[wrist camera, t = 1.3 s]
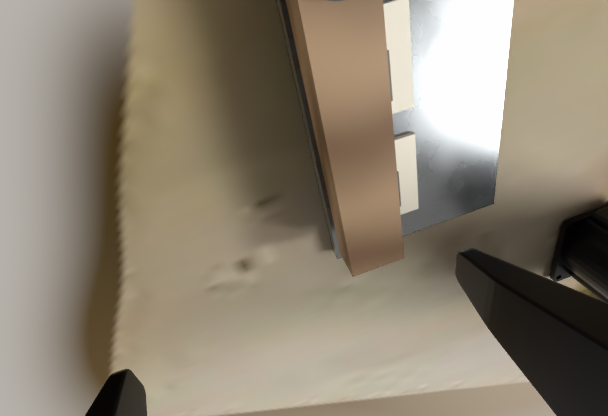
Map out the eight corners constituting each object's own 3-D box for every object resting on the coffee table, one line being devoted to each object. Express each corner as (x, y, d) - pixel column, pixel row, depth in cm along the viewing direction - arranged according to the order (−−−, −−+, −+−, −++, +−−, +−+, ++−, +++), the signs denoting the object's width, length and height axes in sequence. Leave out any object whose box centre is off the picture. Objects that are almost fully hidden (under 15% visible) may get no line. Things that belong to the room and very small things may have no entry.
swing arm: (384, 231, 22) (408, 263, 20) (337, 248, 22) (356, 282, 19) (343, -111, 13) (379, -130, 11) (263, -90, 13) (280, -105, 10)
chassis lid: (485, 197, 25) (497, 206, 24) (333, 251, 24) (339, 262, 23) (515, -167, 15) (538, -177, 14) (253, -101, 14) (258, -106, 13)
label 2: (416, 206, 23) (419, 209, 22) (355, 227, 22) (358, 230, 22) (412, 131, 20) (416, 134, 20) (343, 154, 20) (345, 157, 19)
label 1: (411, 105, 19) (415, 107, 19) (338, 128, 19) (341, 131, 18) (405, -4, 16) (410, -3, 16) (319, 21, 16) (322, 22, 16)
